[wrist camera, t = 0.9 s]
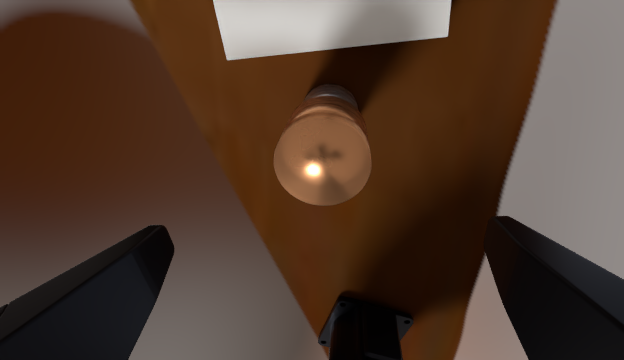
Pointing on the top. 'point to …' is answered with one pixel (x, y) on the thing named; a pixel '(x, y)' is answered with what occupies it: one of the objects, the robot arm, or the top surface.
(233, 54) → the white block
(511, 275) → the robot arm
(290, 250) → the top surface
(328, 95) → the brown round tapered piece
